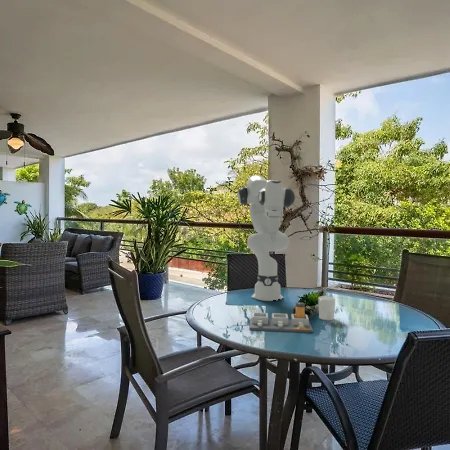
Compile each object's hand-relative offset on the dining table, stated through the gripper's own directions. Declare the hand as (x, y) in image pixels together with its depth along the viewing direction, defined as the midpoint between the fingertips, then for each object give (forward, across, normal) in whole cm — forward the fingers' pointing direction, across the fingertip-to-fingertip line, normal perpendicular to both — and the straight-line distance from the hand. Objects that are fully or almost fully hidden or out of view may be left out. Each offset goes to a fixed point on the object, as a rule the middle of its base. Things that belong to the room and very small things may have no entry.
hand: (273, 240), depth 177 cm
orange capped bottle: (+36, +14, +12) cm, 41 cm away
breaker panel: (+37, +17, +3) cm, 41 cm away
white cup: (+37, +2, +26) cm, 46 cm away
